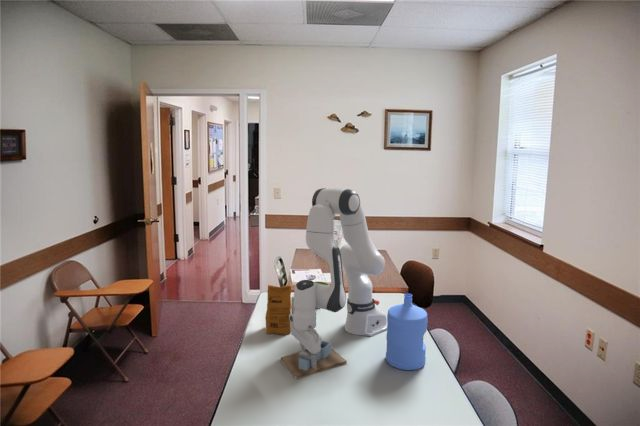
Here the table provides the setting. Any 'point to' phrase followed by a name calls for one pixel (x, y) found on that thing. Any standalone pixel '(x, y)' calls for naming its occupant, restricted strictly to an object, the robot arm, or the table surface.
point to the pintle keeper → (310, 356)
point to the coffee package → (278, 310)
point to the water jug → (406, 335)
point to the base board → (322, 364)
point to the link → (324, 352)
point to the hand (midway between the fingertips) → (305, 354)
